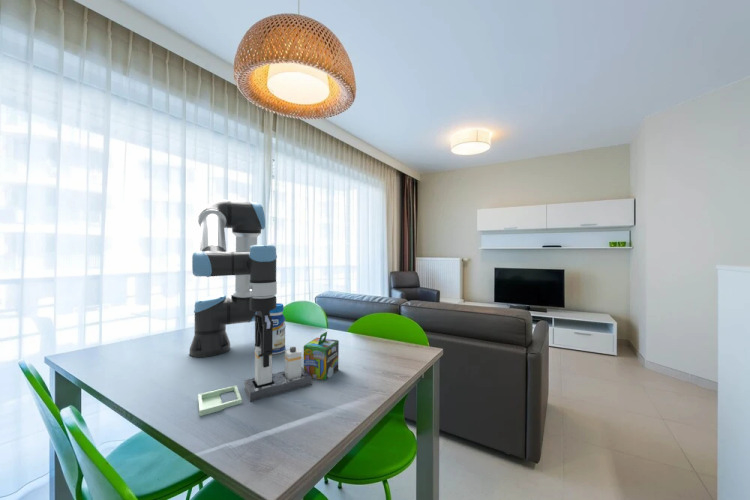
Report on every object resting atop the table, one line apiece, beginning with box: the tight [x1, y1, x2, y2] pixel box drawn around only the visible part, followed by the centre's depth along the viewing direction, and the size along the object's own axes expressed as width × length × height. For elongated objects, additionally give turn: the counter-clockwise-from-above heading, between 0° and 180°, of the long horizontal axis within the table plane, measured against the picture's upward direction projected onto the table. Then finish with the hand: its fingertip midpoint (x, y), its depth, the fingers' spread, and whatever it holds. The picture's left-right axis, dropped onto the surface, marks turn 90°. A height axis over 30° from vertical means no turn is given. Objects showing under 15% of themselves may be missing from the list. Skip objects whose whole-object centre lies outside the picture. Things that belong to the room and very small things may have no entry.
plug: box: [254, 344, 273, 385], centre depth 86 cm, size 4×4×11 cm
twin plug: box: [284, 346, 302, 380], centre depth 91 cm, size 4×4×11 cm
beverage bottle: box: [269, 302, 286, 355], centre depth 122 cm, size 8×8×20 cm
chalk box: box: [303, 331, 340, 381], centre depth 98 cm, size 9×9×15 cm
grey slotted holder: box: [243, 366, 313, 402], centre depth 88 cm, size 9×18×4 cm, turn 124°
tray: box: [197, 384, 243, 417], centre depth 80 cm, size 10×10×2 cm
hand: (263, 374), depth 86 cm, fingers closed on plug, 4 cm apart
